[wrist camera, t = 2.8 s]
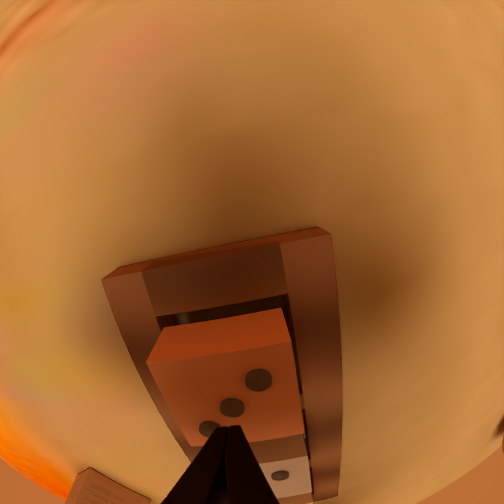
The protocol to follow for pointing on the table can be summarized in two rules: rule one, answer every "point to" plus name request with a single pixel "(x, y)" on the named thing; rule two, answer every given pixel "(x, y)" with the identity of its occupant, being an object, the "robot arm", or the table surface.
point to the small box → (101, 491)
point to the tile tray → (242, 290)
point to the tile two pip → (284, 464)
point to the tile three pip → (230, 376)
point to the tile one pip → (297, 499)
